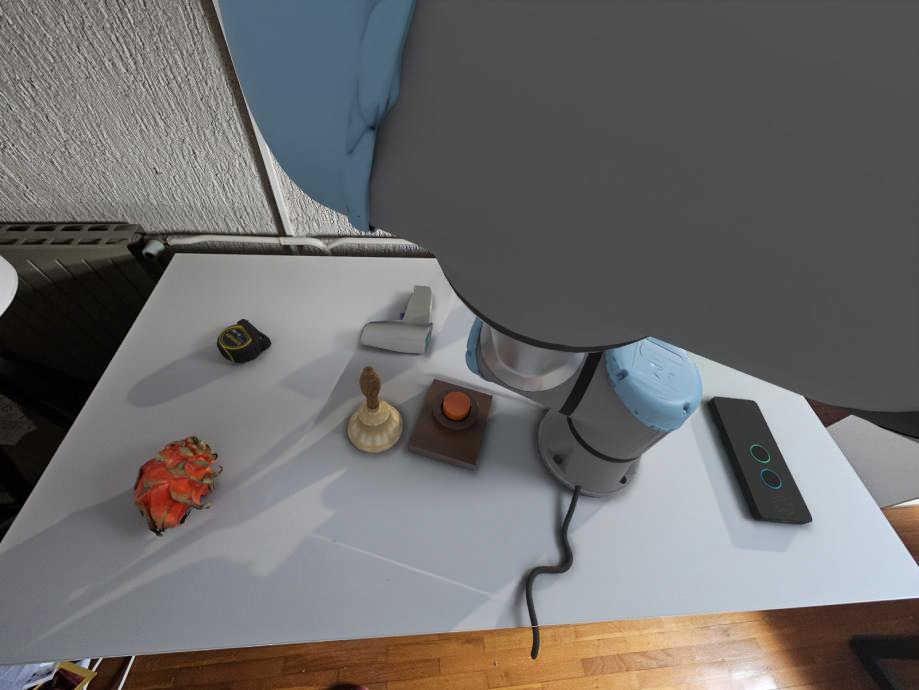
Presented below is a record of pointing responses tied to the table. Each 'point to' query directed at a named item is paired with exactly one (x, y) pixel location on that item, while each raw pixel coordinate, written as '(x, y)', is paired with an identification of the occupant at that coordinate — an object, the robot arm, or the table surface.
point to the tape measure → (242, 342)
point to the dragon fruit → (175, 483)
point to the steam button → (456, 406)
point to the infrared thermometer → (404, 326)
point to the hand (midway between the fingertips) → (602, 191)
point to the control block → (451, 427)
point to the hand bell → (374, 418)
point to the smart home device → (758, 462)
